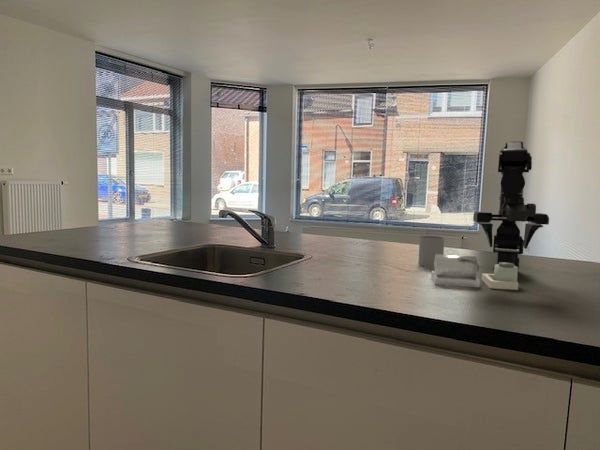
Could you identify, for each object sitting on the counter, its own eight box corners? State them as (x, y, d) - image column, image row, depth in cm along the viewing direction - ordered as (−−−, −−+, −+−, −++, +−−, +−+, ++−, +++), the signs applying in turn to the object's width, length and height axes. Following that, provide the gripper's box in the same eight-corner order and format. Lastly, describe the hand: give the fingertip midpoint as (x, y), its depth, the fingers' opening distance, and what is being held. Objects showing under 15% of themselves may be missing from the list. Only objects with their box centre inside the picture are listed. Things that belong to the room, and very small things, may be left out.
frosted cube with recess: (496, 287, 119) (498, 265, 118) (491, 282, 124) (492, 261, 124) (519, 288, 117) (520, 266, 117) (512, 283, 123) (514, 262, 123)
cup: (443, 263, 152) (444, 236, 151) (442, 267, 145) (444, 239, 144) (419, 261, 155) (420, 235, 154) (417, 265, 147) (418, 237, 146)
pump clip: (490, 288, 117) (490, 281, 117) (481, 279, 127) (482, 273, 127) (517, 289, 116) (518, 282, 115) (507, 281, 126) (507, 274, 125)
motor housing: (435, 284, 120) (436, 257, 119) (431, 277, 130) (432, 251, 129) (481, 287, 118) (483, 259, 117) (473, 279, 127) (475, 253, 126)
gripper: (483, 193, 112) (479, 250, 114) (559, 194, 109) (554, 254, 110) (474, 192, 123) (471, 244, 125) (543, 193, 120) (539, 247, 121)
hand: (507, 247), depth 120 cm, fingers open, 9 cm apart
